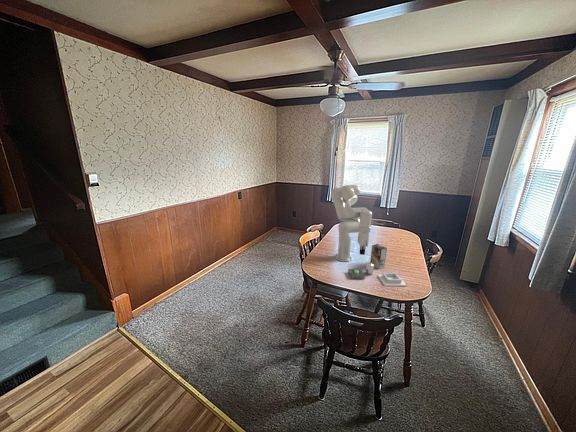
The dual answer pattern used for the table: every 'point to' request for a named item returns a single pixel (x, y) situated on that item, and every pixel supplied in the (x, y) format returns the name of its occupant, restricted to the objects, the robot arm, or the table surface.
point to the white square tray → (391, 279)
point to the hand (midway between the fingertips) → (362, 254)
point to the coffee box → (378, 256)
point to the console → (356, 276)
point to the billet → (369, 268)
